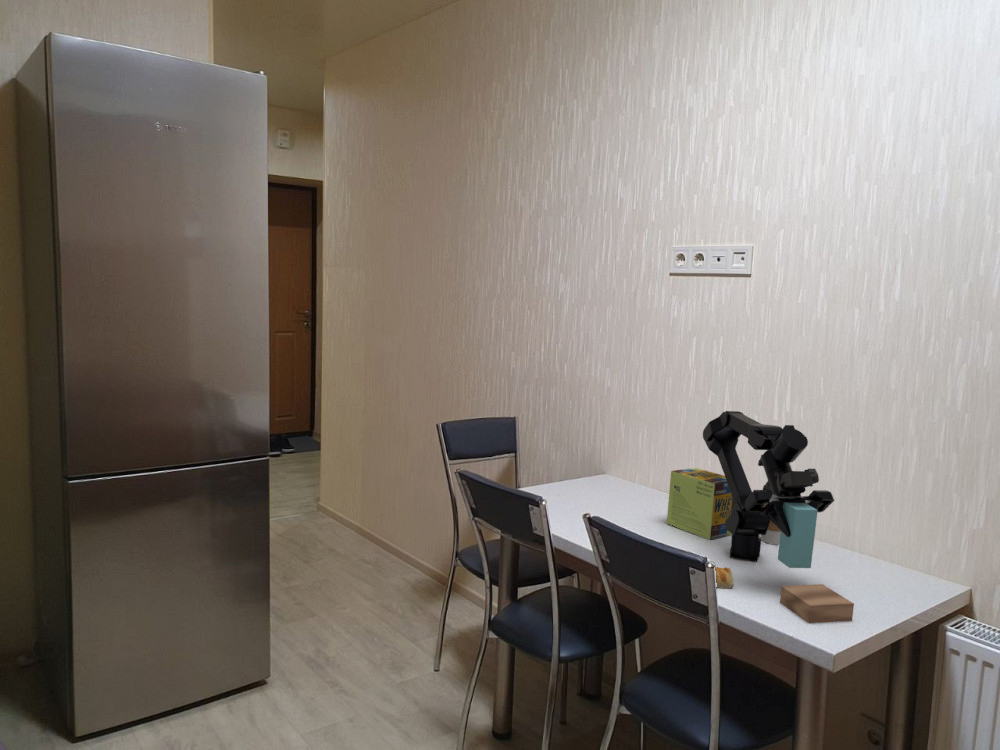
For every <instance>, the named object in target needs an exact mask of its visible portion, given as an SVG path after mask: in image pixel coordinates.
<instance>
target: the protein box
mask: <svg viewBox="0 0 1000 750" xmlns="http://www.w3.org/2000/svg"><path fill="white" fill-rule="evenodd" d="M669 481H670V482H669V492H668V493H669V494H668V502H667V503H668V505H667V515H666V516H667V517H666V525H668V524H670V525H669V526H671V525H673V526H675V527H674V528H676V527H677V529H679V528H680V529H679V530H681V529H683V530H682V531H684V530H686V531H685V532H687V531H689V532H691V533H690V534H692V533H694V534H693V535H695V534H697V535H699V536H698V537H700V536H702V537H701V538H703V537H704V538H703V539H705V538H707V539H706V540H708V539H709V541H712V540H715V539H720V538H724V537H729V536H732V533H730V532H729V531H728V530H726V523H725V521H726V520H727V518H728V517H729V516H730V515H731V509H732V506H733V503H734V500H733V497H732V494H731V491H730V489H729V486H728V483H727V480H726V478H725V475H723V474H720V473H717V472H713V471H708V470H705V469H701V468H697V467H691V468H684V469H677V470H676V469H675V470H671V471H670V480H669ZM673 526H672V527H673ZM689 532H688V533H689ZM697 535H696V536H697ZM728 535H729V536H728ZM711 539H712V540H711Z"/></svg>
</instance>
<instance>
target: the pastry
mask: <svg viewBox="0 0 1000 750" xmlns="http://www.w3.org/2000/svg"><path fill="white" fill-rule="evenodd" d="M714 567H715V571H716V583H717V587H718V588H717V589H732V588H733V587H734V583H735V581H734V577H733V572H732V570H731V568H730V567H726V566H724V567H718V566H714ZM720 587H721V588H720ZM722 587H723V588H722ZM731 587H732V588H731Z"/></svg>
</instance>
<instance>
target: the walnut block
mask: <svg viewBox="0 0 1000 750" xmlns="http://www.w3.org/2000/svg"><path fill="white" fill-rule="evenodd" d="M780 587H781V589H780V596H779V598H780V599H779V603H780V604H781V605H782V606H784V607H785V606H786V608H787V609H788V610H790V611H791V612H792V613H794V614H795V615H796V616H798V617H800V618H801V619H802V620H803V621H805V622H806V623H808V624H817V623H820V624H821V623H837V622H838V621H839V622H852V621H853V618H854V617H853V615H854V607H855V603H854V602H852V601H851V600H849V599H848V598H846V597H844V596H843V595H841V594H840V593H837V592H836V591H834V590H833V589H831V588H830V587H828V586H826V585H825V584H801V585H800V584H798V585H781V586H780Z"/></svg>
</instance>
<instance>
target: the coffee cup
mask: <svg viewBox="0 0 1000 750" xmlns="http://www.w3.org/2000/svg"><path fill="white" fill-rule="evenodd" d="M762 487H763V488H762V490H769V491H771V488H770V487H767V486H766V483H765V484H764V485H763V486H762ZM771 493H772V491H771ZM772 495H773V494H772ZM783 508H784V505H783ZM780 534H781V530H780V529H779V528H778V527H777V526H776V525H775V524H774V523H773V522H772V521H771V520H770V523H769V526H768V529H767V532H766V535H761V538H760V539H761V542H763V543H765V544H766V543H767V544H770V545H774V546H779V543H780Z"/></svg>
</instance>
